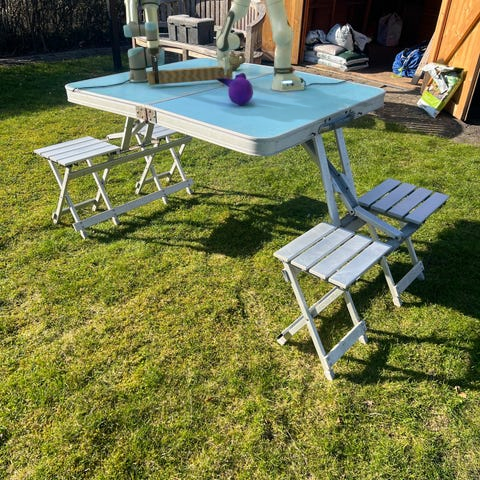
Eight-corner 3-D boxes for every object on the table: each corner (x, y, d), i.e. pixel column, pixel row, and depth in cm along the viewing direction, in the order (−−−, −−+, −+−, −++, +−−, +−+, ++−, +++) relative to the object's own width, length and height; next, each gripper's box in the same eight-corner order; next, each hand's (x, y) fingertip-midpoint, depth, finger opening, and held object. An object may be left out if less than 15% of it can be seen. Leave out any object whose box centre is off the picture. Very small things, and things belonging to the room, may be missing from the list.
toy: (238, 95, 290) (253, 110, 269) (212, 91, 282) (225, 106, 262) (244, 71, 282) (260, 84, 261) (218, 65, 274) (232, 78, 254)
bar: (149, 85, 312) (147, 72, 308) (148, 83, 317) (146, 71, 313) (232, 78, 327) (232, 66, 323) (230, 77, 332) (230, 65, 328)
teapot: (225, 72, 363) (224, 52, 355) (218, 70, 371) (218, 50, 364) (248, 69, 372) (247, 50, 364) (241, 67, 381) (240, 48, 373)
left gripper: (160, 48, 297) (164, 84, 309) (156, 45, 313) (160, 80, 324) (149, 49, 296) (153, 85, 307) (145, 46, 311) (149, 81, 323)
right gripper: (231, 55, 312) (232, 76, 319) (223, 51, 329) (224, 71, 336) (222, 55, 310) (223, 76, 317) (215, 52, 327) (216, 72, 334)
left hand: (156, 82), depth 316 cm, fingers closed on bar, 6 cm apart
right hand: (223, 74), depth 327 cm, fingers closed on bar, 5 cm apart
